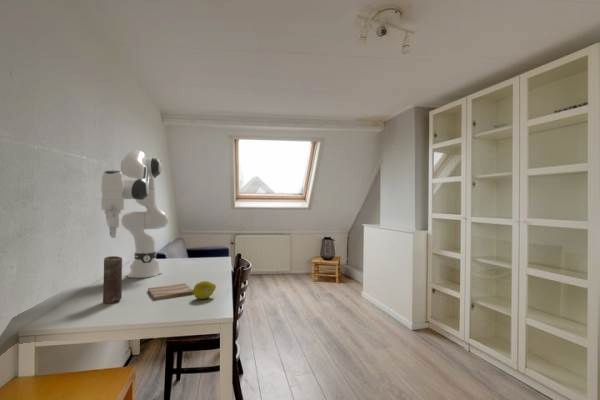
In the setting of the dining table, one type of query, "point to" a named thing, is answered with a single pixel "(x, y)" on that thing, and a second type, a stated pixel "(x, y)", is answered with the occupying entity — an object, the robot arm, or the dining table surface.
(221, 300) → the dining table surface
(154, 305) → the dining table surface
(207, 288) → the lemon
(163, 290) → the walnut board
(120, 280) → the wooden log
